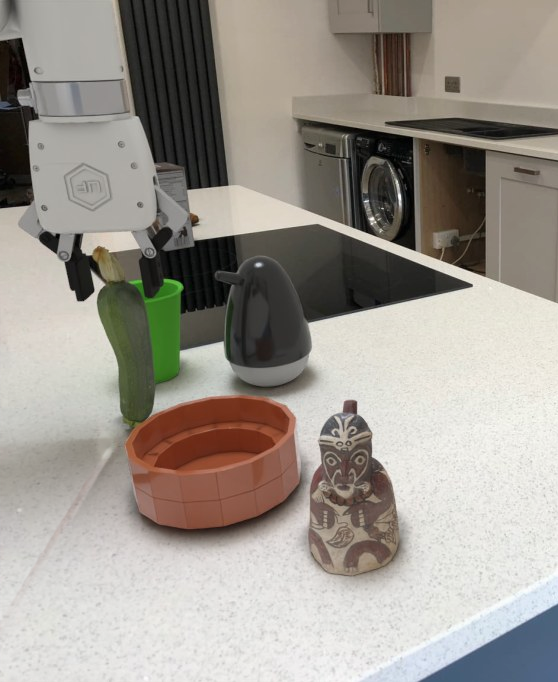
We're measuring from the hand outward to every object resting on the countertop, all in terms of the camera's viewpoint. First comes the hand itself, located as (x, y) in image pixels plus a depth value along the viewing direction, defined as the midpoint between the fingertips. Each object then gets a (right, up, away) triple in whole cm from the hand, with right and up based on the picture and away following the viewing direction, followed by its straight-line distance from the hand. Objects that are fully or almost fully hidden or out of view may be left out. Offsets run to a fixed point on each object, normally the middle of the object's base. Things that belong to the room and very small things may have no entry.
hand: (119, 293), depth 72 cm
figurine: (+25, -21, -13) cm, 35 cm away
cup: (-4, -9, +18) cm, 21 cm away
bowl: (+12, -18, -5) cm, 22 cm away
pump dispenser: (+11, -9, +17) cm, 22 cm away
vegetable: (0, -14, +6) cm, 15 cm away
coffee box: (-25, +15, +78) cm, 84 cm away
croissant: (-31, +21, +93) cm, 100 cm away
